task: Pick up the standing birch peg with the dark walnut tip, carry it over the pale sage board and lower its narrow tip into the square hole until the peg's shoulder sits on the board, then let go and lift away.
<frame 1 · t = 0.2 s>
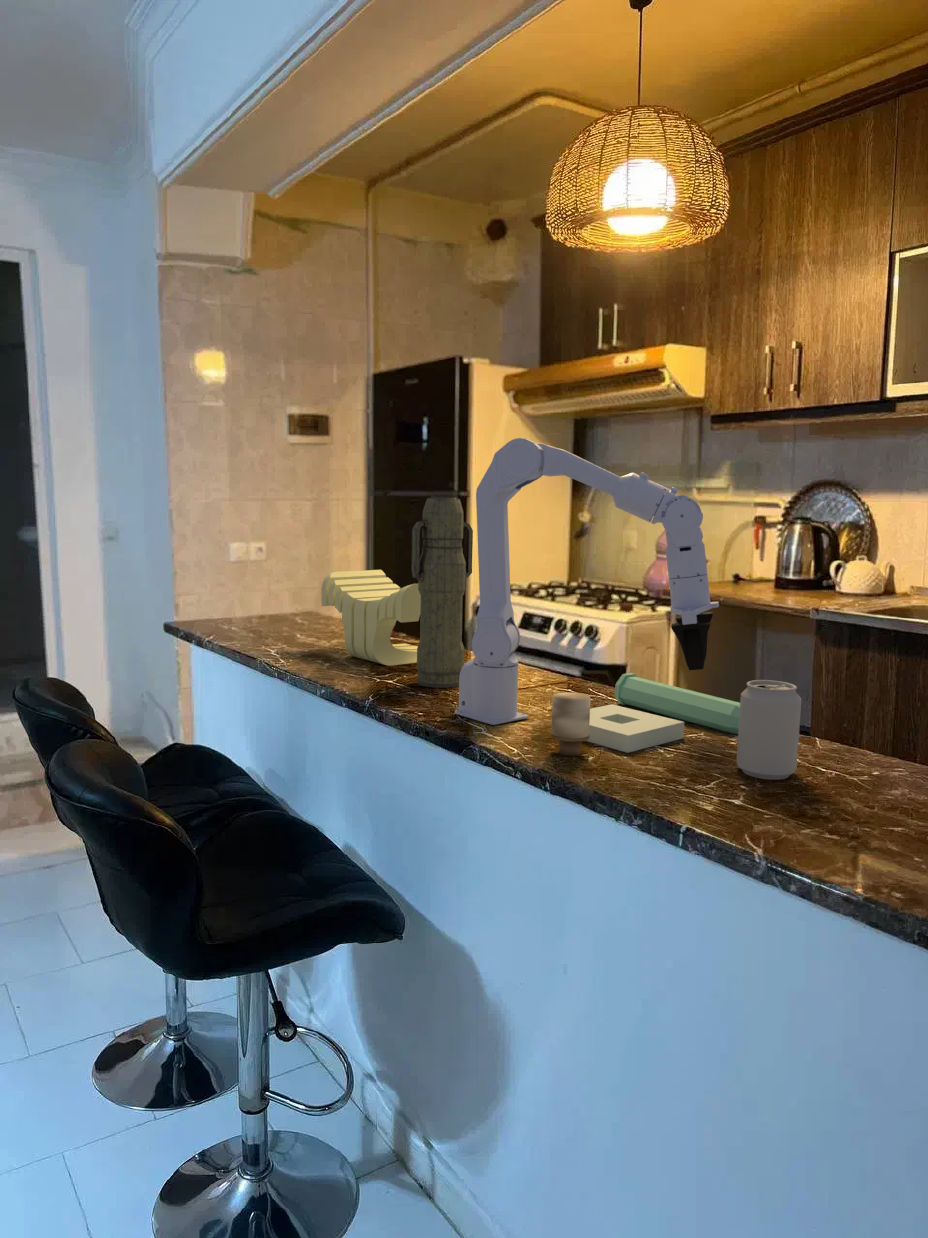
hand: (697, 664, 138), 11 cm above the counter, tool pointing down, fingers open, 7 cm apart
can: (765, 774, 120), on the counter
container: (681, 720, 149), on the counter
peg: (569, 752, 127), on the counter
slatted curved stool: (389, 659, 196), on the counter
thermos: (440, 684, 172), on the counter
board: (618, 735, 137), on the counter
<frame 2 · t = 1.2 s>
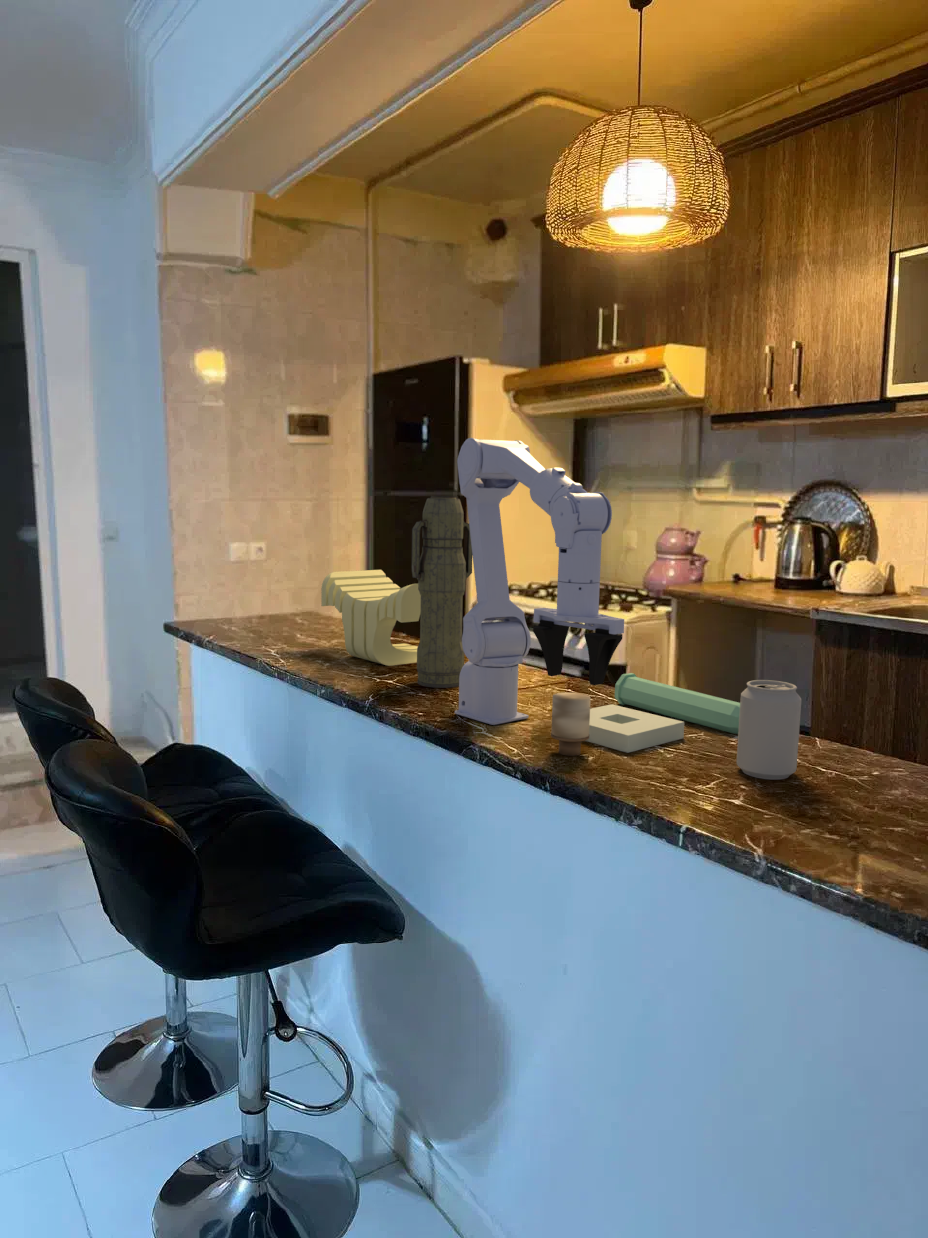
hand: (575, 679, 126), 10 cm above the counter, tool pointing down, fingers open, 7 cm apart
nothing on the counter moved.
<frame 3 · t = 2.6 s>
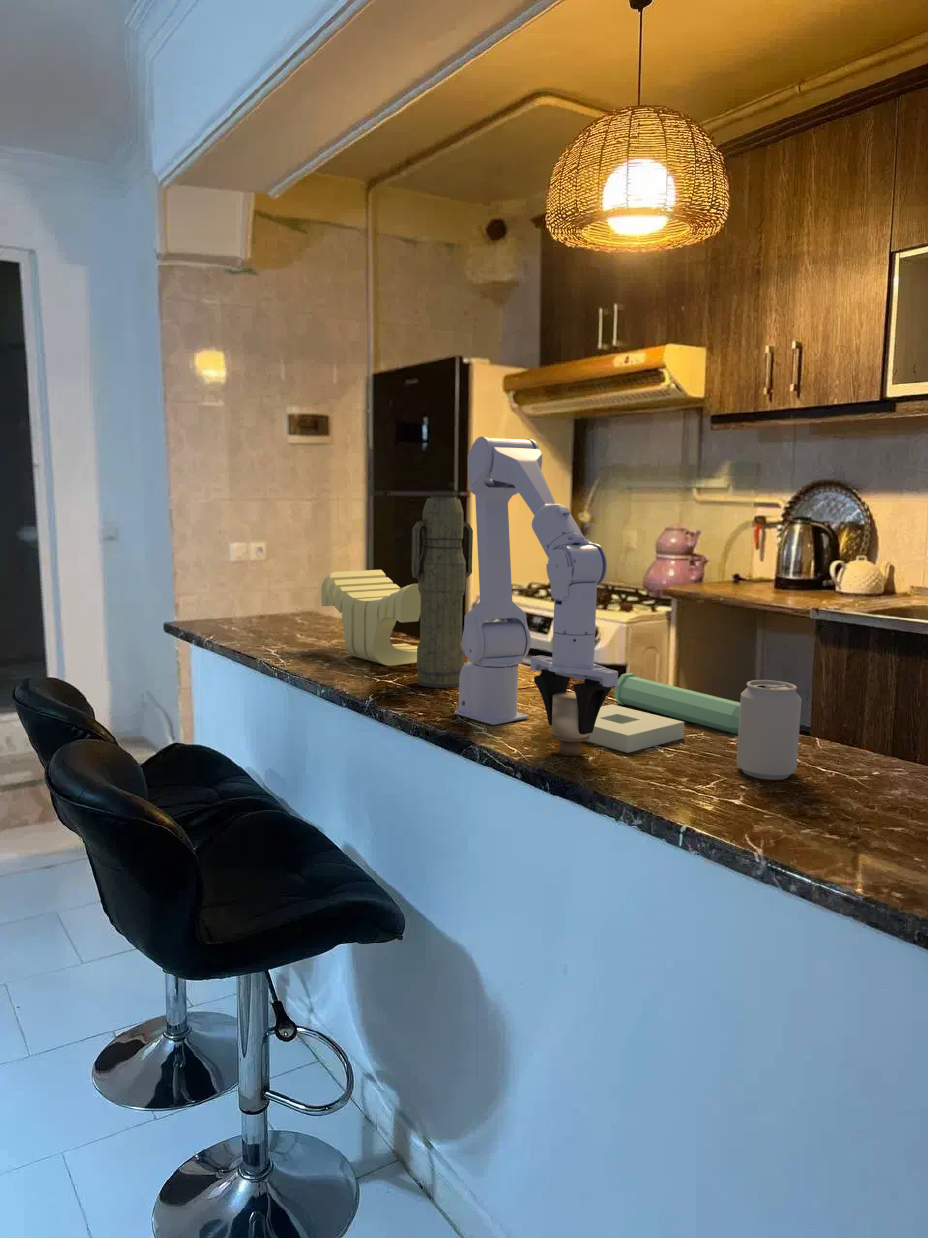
hand: (570, 728, 127), 3 cm above the counter, tool pointing down, fingers closed on peg, 5 cm apart
peg: (569, 752, 127), on the counter, touching gripper
everything else where it was.
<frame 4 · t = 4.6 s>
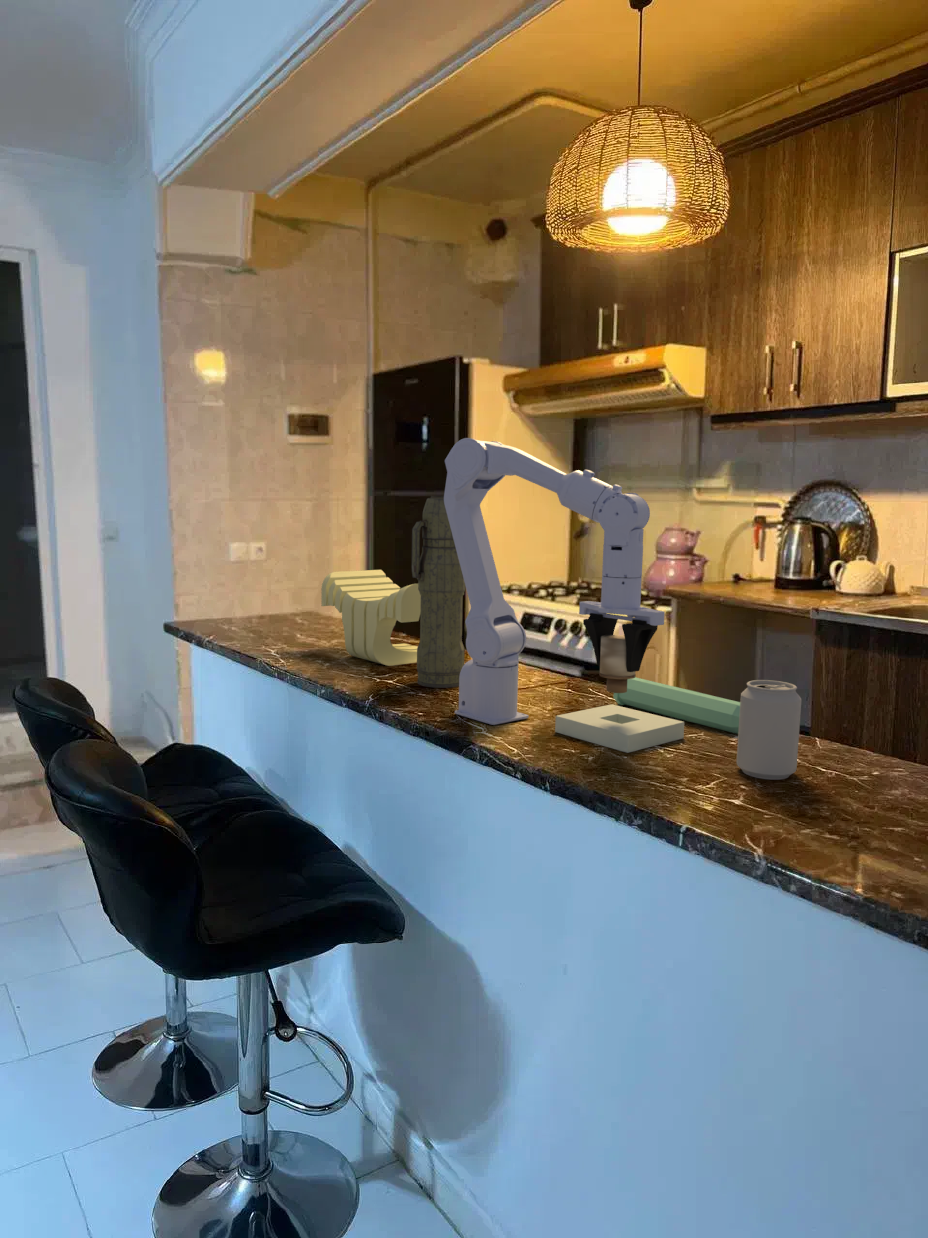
hand: (617, 668, 135), 10 cm above the counter, tool pointing down, fingers closed on peg, 5 cm apart
peg: (616, 690, 135), point 7 cm above the counter, touching gripper
everything else where it was.
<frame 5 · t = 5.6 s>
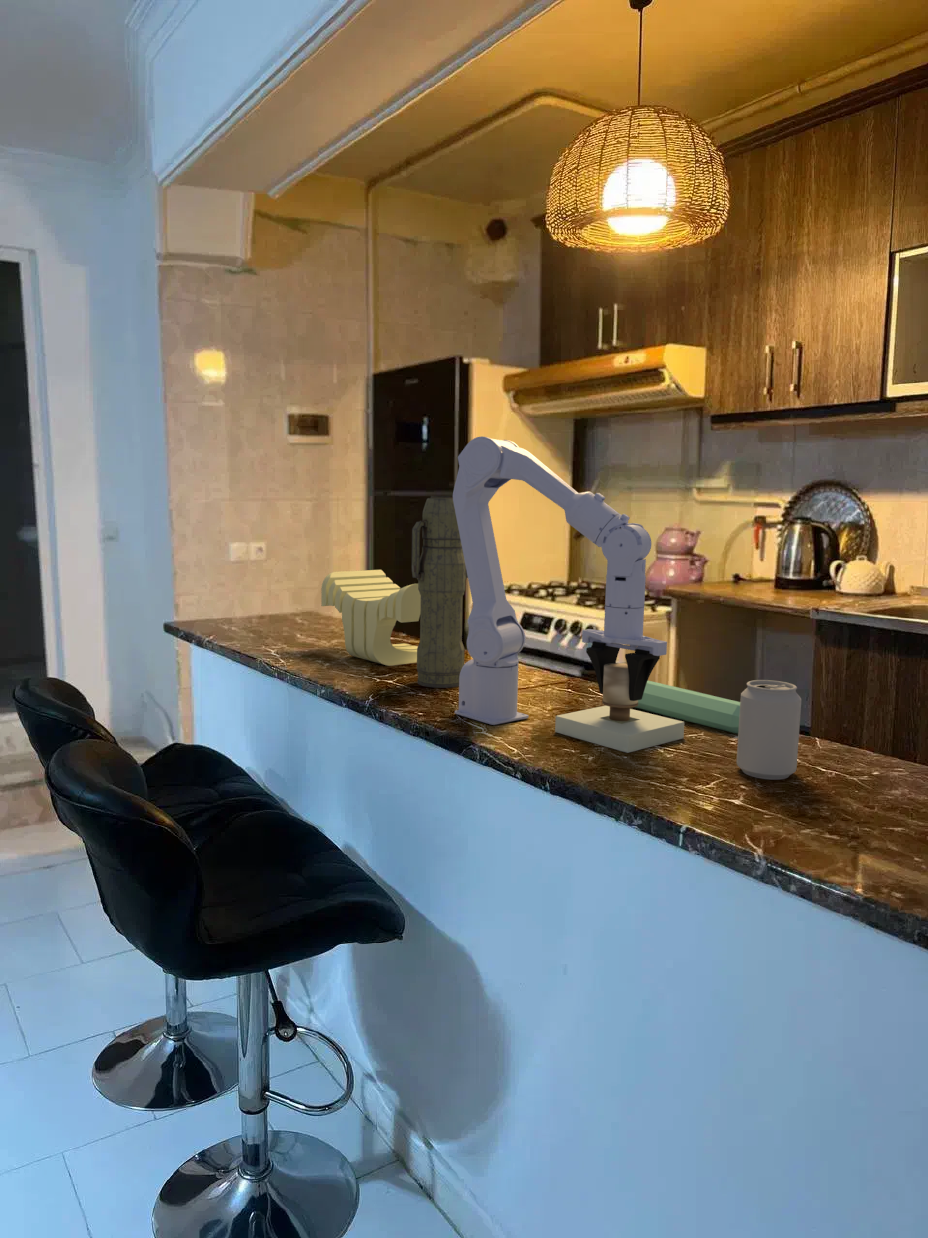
hand: (620, 696, 136), 6 cm above the counter, tool pointing down, fingers closed on peg, 5 cm apart
peg: (619, 718, 137), point 3 cm above the counter, touching gripper
everything else where it was.
when the fingers open (4 cm above the counter, at t = 6.6 s): peg stays where it is, resting on board.
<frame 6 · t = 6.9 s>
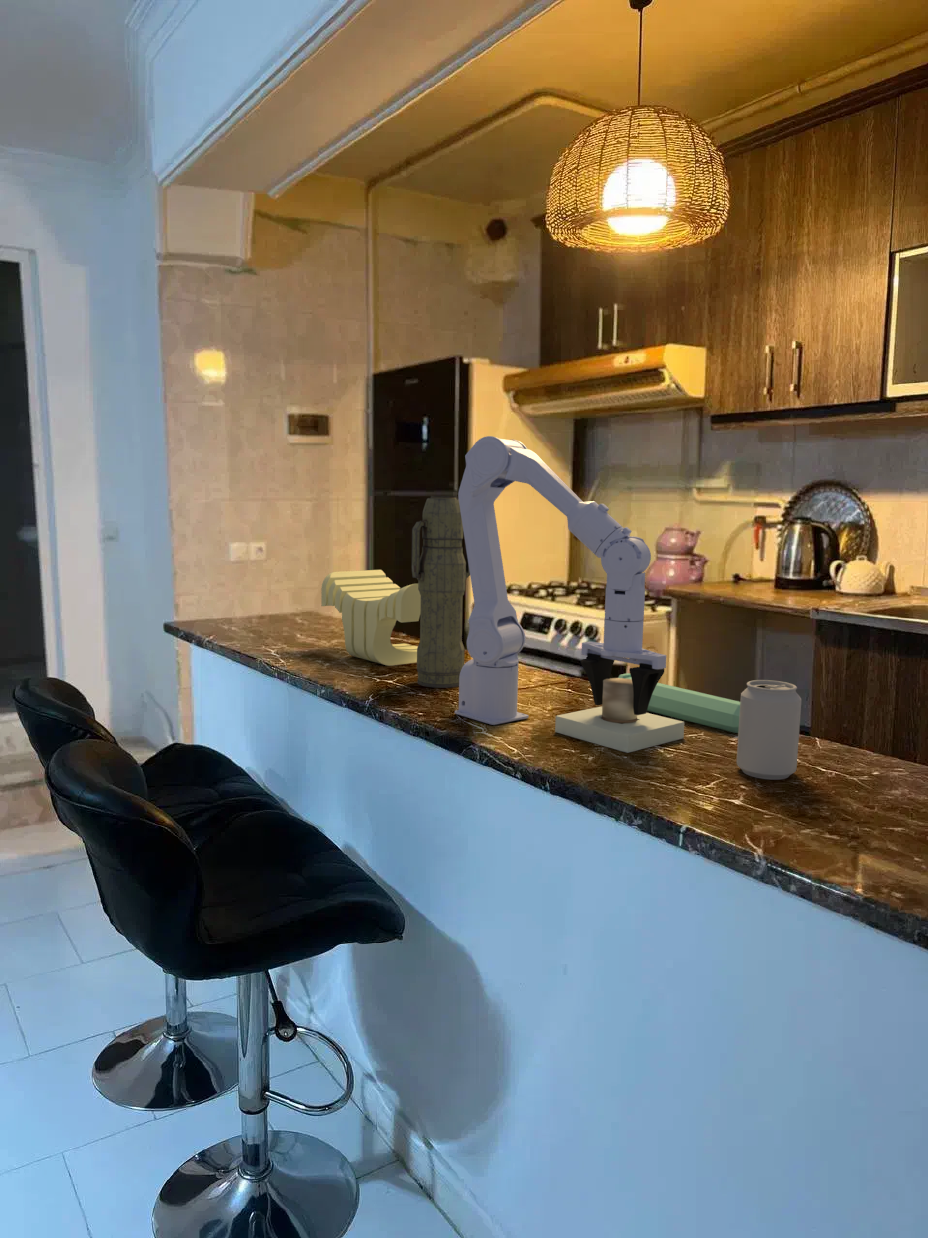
hand: (619, 709, 136), 4 cm above the counter, tool pointing down, fingers open, 7 cm apart
peg: (618, 733, 137), resting on board
everything else where it was.
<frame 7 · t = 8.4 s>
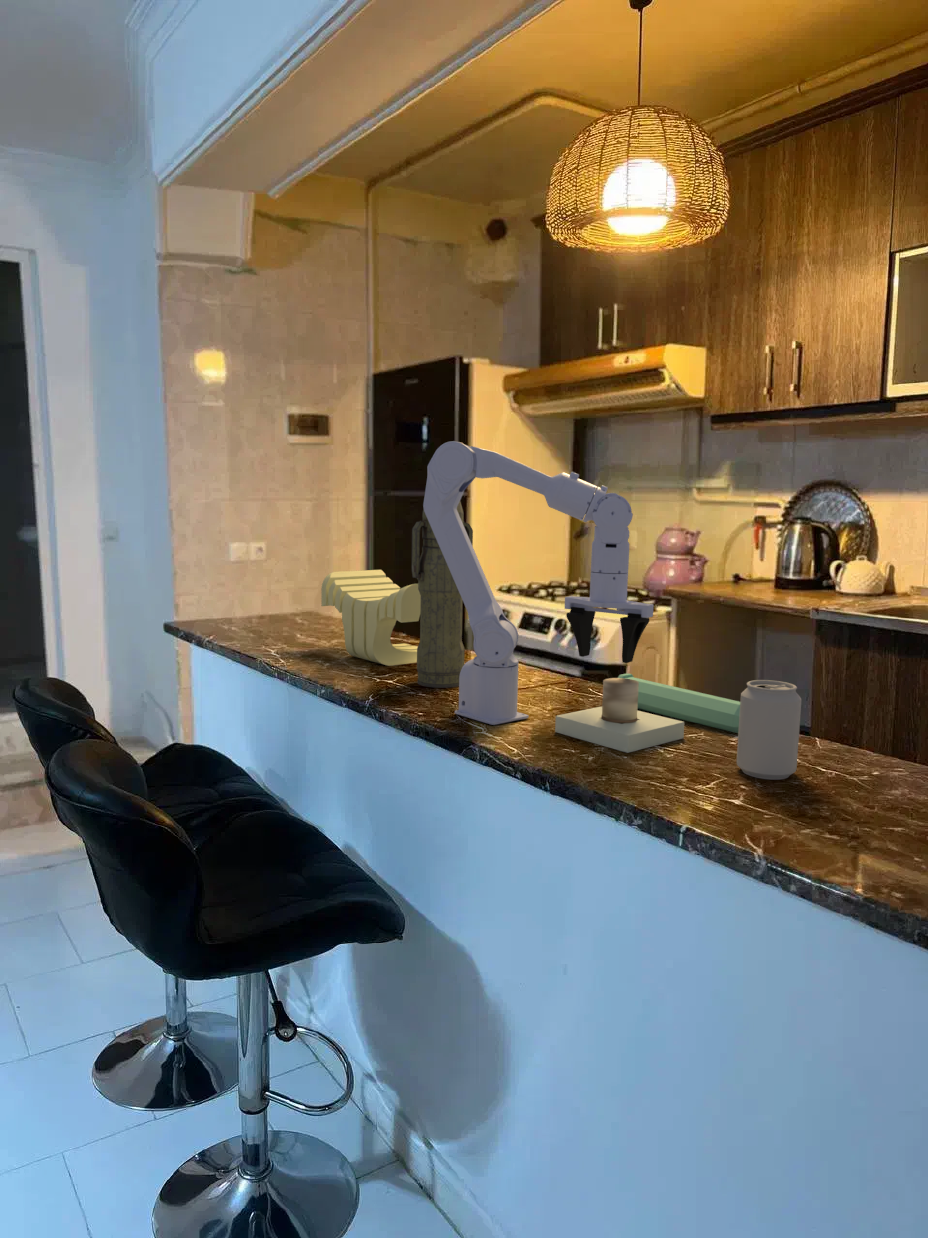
hand: (605, 658, 142), 10 cm above the counter, tool pointing down, fingers open, 7 cm apart
nothing on the counter moved.
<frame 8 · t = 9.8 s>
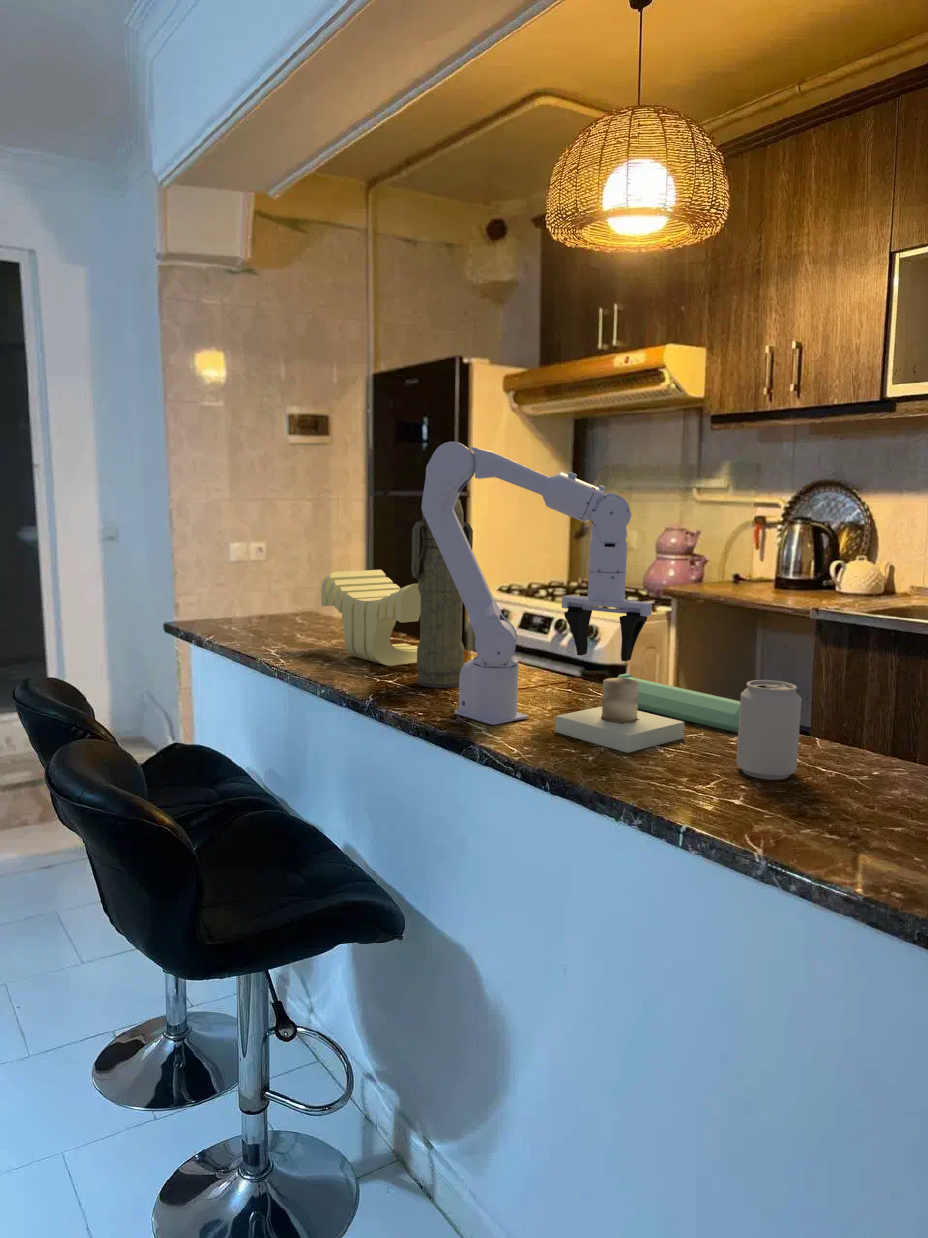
hand: (603, 657, 143), 10 cm above the counter, tool pointing down, fingers open, 7 cm apart
nothing on the counter moved.
at the end: peg resting in board; peg 0.0 cm from the board (horizontally); peg tilted 0° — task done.
